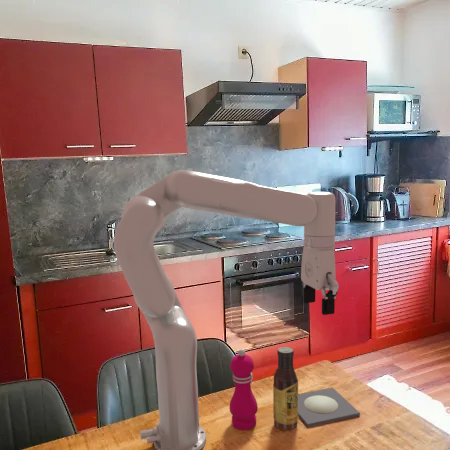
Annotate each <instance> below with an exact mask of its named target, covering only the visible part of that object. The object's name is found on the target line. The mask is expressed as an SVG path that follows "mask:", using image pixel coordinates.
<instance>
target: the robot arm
mask: <svg viewBox="0 0 450 450" xmlns="http://www.w3.org/2000/svg"><path fill="white" fill-rule="evenodd" d="M336 203H337V202H336V196H335V194H334V193H332V192H329V191H313V192H311V191H310V192H307V193H305V192H304V193H303V192H295V191H290V190H284V189H280V188H279V189H278V188H274V187H269V186H263V185H259V184H257V183H253V182H249V181H246V180H241V179H237V178H232V177H226V176H222V175H216V174H210V173H205V172H200V171H196V170H195V171H194V170H189V169H188V170H186V169H177V170H174V171H172V172H171V173H170V174H168V175H166V176H165V177H163V178H162V179H160V180H158V181H157V182H156V183H154V184H152V185H151V186H148V187H147V188H145V189H144V190H143V191H141V192H140V193H137V195H134V196H133V197H132V198H131V199H129V200H128V201H127V203H126V204H125V206H124V209H123V215H122V217H121V218H120V221H119V222H118V224H117V225H116V226H117V227H116V228H115V231H114V232H115V233H114V236H113V248H114V249H113V250H114V253H115V256H116V259H117V262H118V265H119V267H120V269H121V271H122V273H123V276H124V278H125V280H126V283H127V284H128V287H129V288H130V291H131V293H132V295H133V298H134V302H135V304H136V306H137V307H138V309H139V310H140V311H141V312H142V314H143V317H144V318H145V321H146V322H147V324H148V325H149V329H150V330H151V333H152V338H153V342H154V350H155V351H154V353H155V372H156V373H155V376H156V378H155V379H156V389H157V402H158V403H157V404H158V421H157V422H156V424H157V426H153V428H149V429H144V430H140V431H139V432H140V439H141V441H142V440H146V442H147V445H148V444H151V443H153V445H154V449H155V450H202V448H203V447H204V446H205V445H206V443H207V432H206V430H205V429H204V428H203V427H202V426H201V425H200V413H199V412H200V411H199V392H198V389H199V388H198V376H197V355H198V354H197V353H198V352H197V351H198V339H197V333H196V331H195V328H194V326H193V323H192V322H191V321H190V318H189V317H188V315H187V314H186V311H185V310H184V307H183V306H182V304H181V300H180V299H179V297H178V295H177V293H176V290H175V286H174V284H173V283H172V280H171V279H170V277H169V275H168V274H167V273H166V272H165V269H164V267H163V266H162V263H161V261H160V258H159V256H158V254H157V251H156V249H155V243H154V242H155V241H154V240H155V237H156V235H157V233H158V232H159V231H160V230H161V228H162V226H163V224H164V220H165V219H166V218H167V217H169V216H170V215H172V214H173V213H175V212H176V211H178V210H179V209H181V208H187V209H190V210H198V211H203V212H209V213H210V212H211V213H215V214H221V215H227V216H231V217H232V216H233V217H238V218H242V219H243V218H245V219H253V220H260V221H265V222H271V223H276V224H281V225H282V224H283V225H288V226H295V227H303V248H302V249H303V251H302V256H301V267H300V268H301V269H300V271H301V272H300V279H301V282H303V283H302V287H303V303H304V304H311V303H315V302H316V291H320V292H321V294H322V296H323V298H321V315H323V316H325V315H326V316H327V315H334V314H335V308H336V307H335V303H336V298H337V295H338V290H339V287H340V285H339V282H338V281H337V280H336V257H335V250H334V249H335V248H336V247H335V246H336V245H335V244H336V243H335V242H336V241H335V240H336V238H335V237H336ZM327 291H328V292H327Z"/></svg>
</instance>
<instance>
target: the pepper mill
mask: <svg viewBox="0 0 450 450" xmlns="http://www.w3.org/2000/svg"><path fill="white" fill-rule="evenodd" d="M229 367H230V371H231V372H232V380H233V382H234V391H233V394H232V397H230V403H229V412H230V414H231V424H232V426H233V427H234V429H237V430H240V431H248V430H251V429H253V428H254V427H256V425H257V415H256V414H257V413H258V411H259V410H258V407H259V406H258V402H257V398H256V397H255V395H254V392H253V390H252V387H251V386H252V384H251V382H252V380H253V371H254V369H255V362H254V359H253V358H252V357H251V356H250V355H248V354H246V351H245V349H243V348H241V349H239V350H238V352H237V354H236V355H234V356H233V357H232V358H231V361H230V365H229Z"/></svg>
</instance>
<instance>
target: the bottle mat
mask: <svg viewBox="0 0 450 450" xmlns="http://www.w3.org/2000/svg"><path fill="white" fill-rule="evenodd" d="M359 416H361V412H360V411H359V410H357V409H356V407H354V406H353V404H351V403H350V402H349V401H348V400H347V399H346V398H345V397H343V395H341V394H340V392H338V391H337V390H336V389H335V388H334V387H328V388H321V389H318V390H313V391H308V392H304V393H303V392H302V393H298V418H299V419H301V421H302V422H303V423H304V424H305V426H306V427H307V428H309V427H315V426H319V425H322V424H328V423H333V422H336V421H341V420H345V419H349V418H351V419H352V418H355V417H359Z"/></svg>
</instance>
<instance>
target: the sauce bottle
mask: <svg viewBox="0 0 450 450" xmlns="http://www.w3.org/2000/svg"><path fill="white" fill-rule="evenodd" d="M294 353H295V351H294V349H293V348H292V347H289V346H281V347H279V348H277V361H278V362H277V368H276V369H275V372H274V374H273V392H272V393H273V398H272V399H273V401H272V402H273V403H272V405H273V411H272V413H273V420H274V421H273V422H274V423H273V424H274V426H275V427H276V428H277V429H280V430H282V431H290V430H293V429H295V428H297V426H298V423H299V421H298V420H299V416H298V394H299V379H298V376H297V373H296V371H295V367H294V355H295V354H294Z"/></svg>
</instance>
